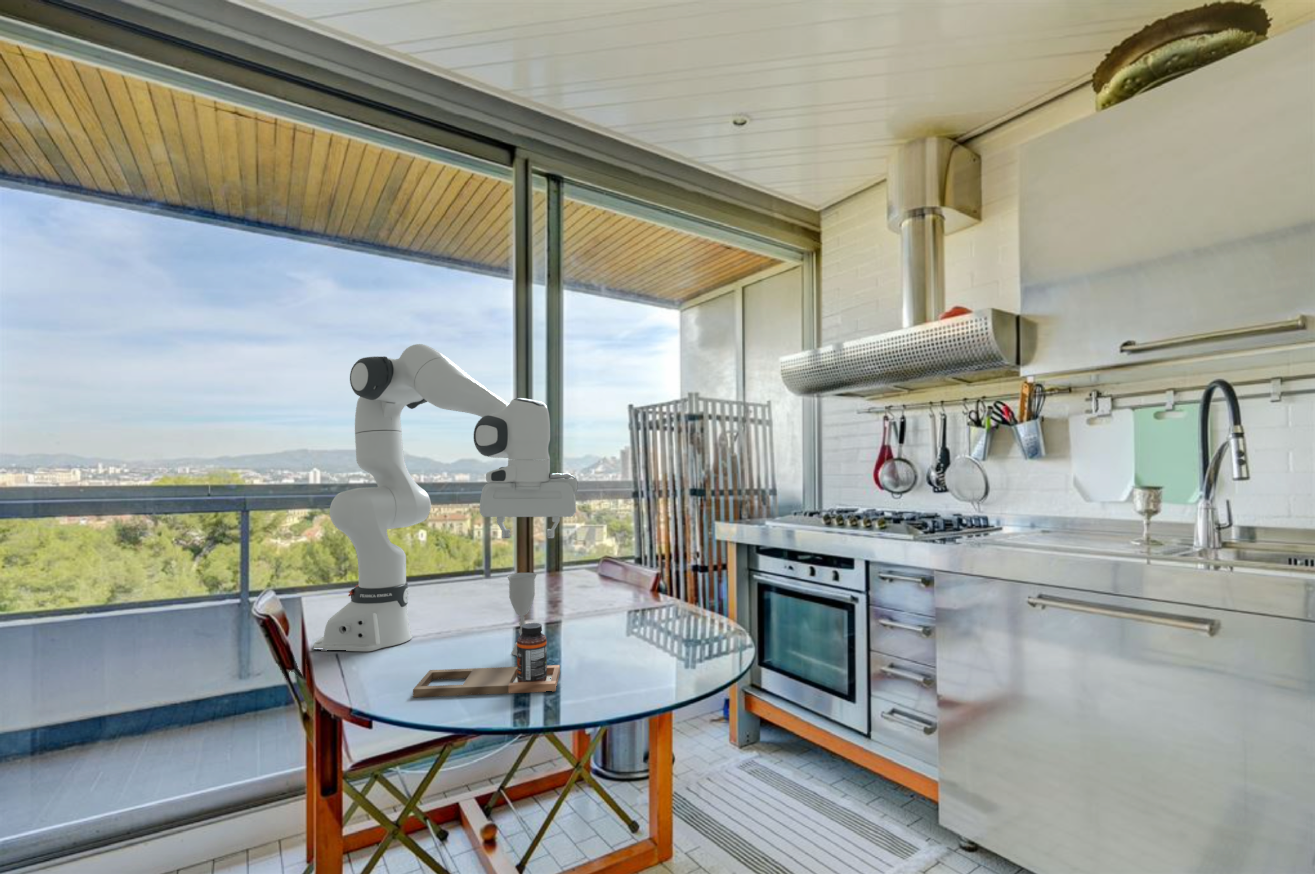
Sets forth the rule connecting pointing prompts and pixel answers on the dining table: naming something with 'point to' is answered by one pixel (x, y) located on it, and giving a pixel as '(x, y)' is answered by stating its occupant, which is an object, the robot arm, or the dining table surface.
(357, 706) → the dining table surface
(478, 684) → the wooden compartment tray
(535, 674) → the supplement bottle
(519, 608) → the chalice
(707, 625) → the dining table surface
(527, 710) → the dining table surface
